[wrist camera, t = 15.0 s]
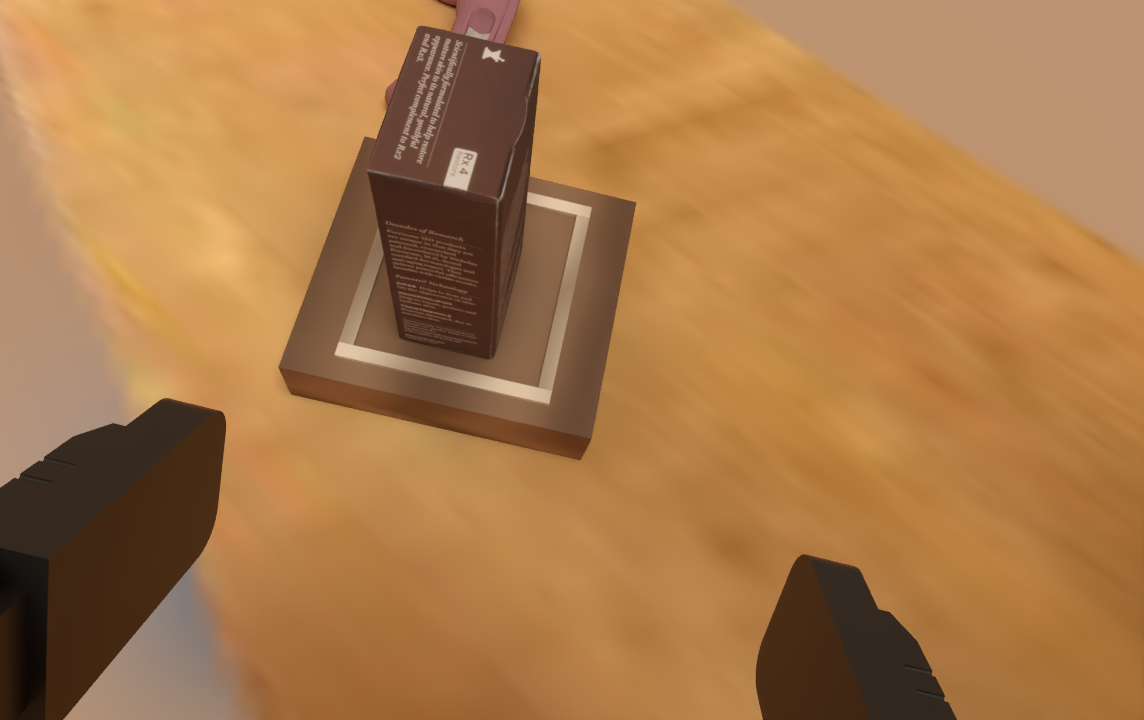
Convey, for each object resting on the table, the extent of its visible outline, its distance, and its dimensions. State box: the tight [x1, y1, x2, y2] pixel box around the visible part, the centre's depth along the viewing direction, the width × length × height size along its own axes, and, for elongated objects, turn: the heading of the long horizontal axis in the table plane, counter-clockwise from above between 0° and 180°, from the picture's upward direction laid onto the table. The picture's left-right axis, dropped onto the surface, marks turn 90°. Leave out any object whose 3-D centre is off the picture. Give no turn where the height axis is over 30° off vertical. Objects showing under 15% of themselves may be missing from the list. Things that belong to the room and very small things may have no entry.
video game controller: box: [385, 0, 520, 106], centre depth 43 cm, size 10×5×7 cm, turn 167°
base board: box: [279, 137, 636, 460], centre depth 38 cm, size 13×12×3 cm
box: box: [367, 26, 541, 358], centre depth 31 cm, size 6×4×12 cm
